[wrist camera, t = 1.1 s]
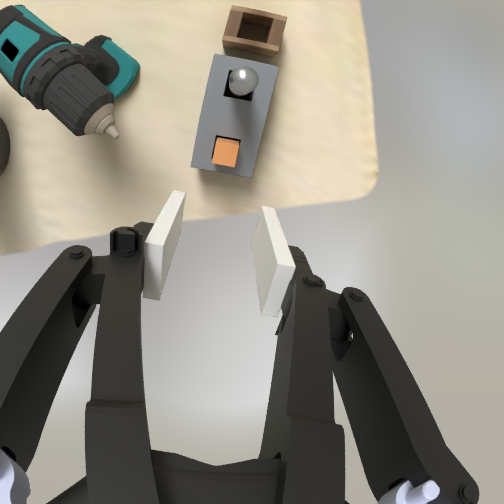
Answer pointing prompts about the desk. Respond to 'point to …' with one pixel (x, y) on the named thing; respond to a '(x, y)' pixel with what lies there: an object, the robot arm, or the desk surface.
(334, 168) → the desk surface
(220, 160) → the plunger
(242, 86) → the cylinder
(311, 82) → the desk surface
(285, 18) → the hollow brown square tube
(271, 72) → the socket block
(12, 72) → the power drill
